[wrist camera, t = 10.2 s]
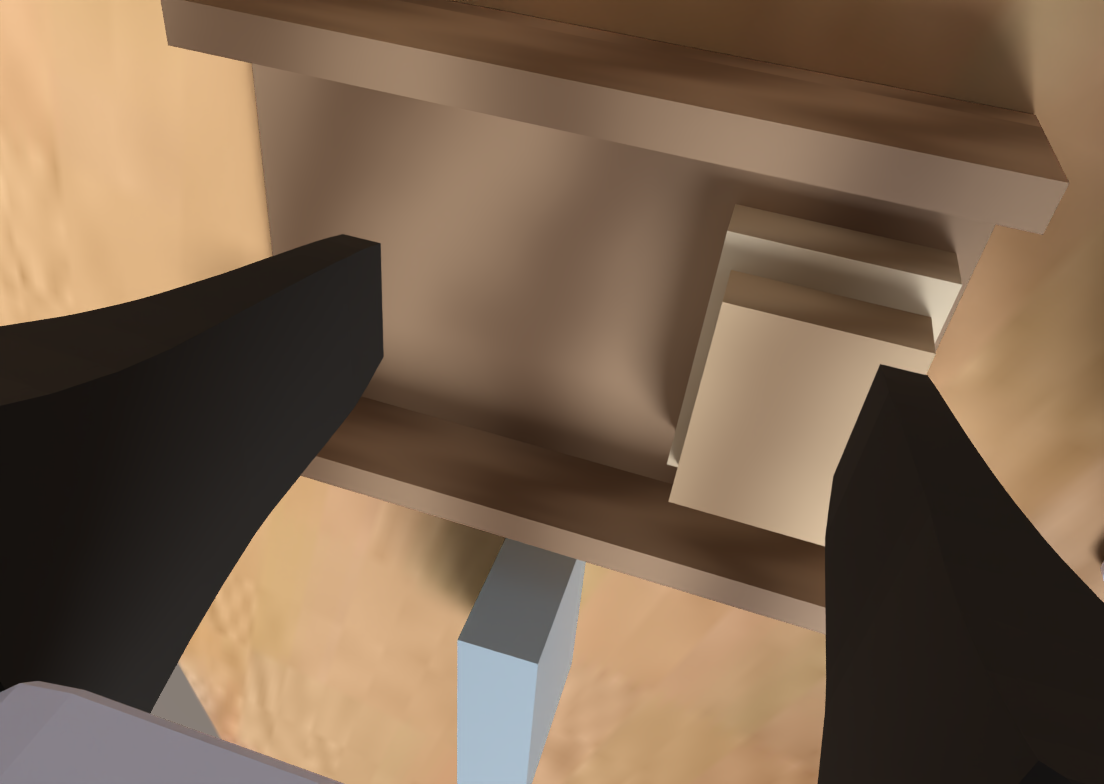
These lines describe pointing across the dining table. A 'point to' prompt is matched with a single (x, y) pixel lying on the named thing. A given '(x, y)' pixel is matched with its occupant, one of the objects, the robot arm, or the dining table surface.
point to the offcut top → (787, 400)
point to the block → (515, 663)
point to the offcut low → (823, 276)
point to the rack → (581, 249)
